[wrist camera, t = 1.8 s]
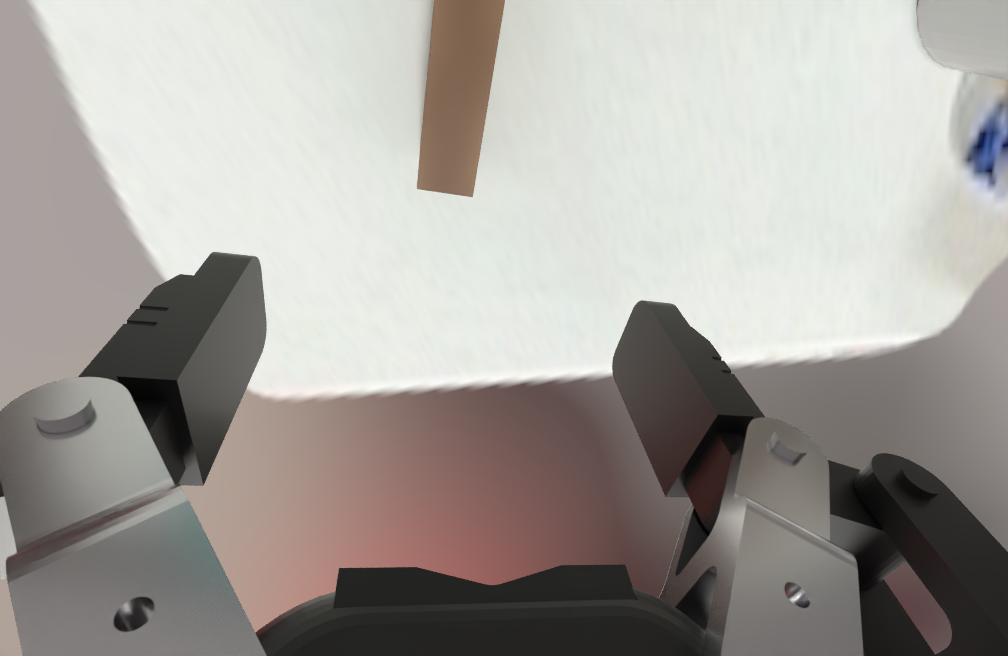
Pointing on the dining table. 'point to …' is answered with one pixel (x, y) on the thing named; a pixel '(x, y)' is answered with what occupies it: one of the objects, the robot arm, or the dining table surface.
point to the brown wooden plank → (457, 93)
